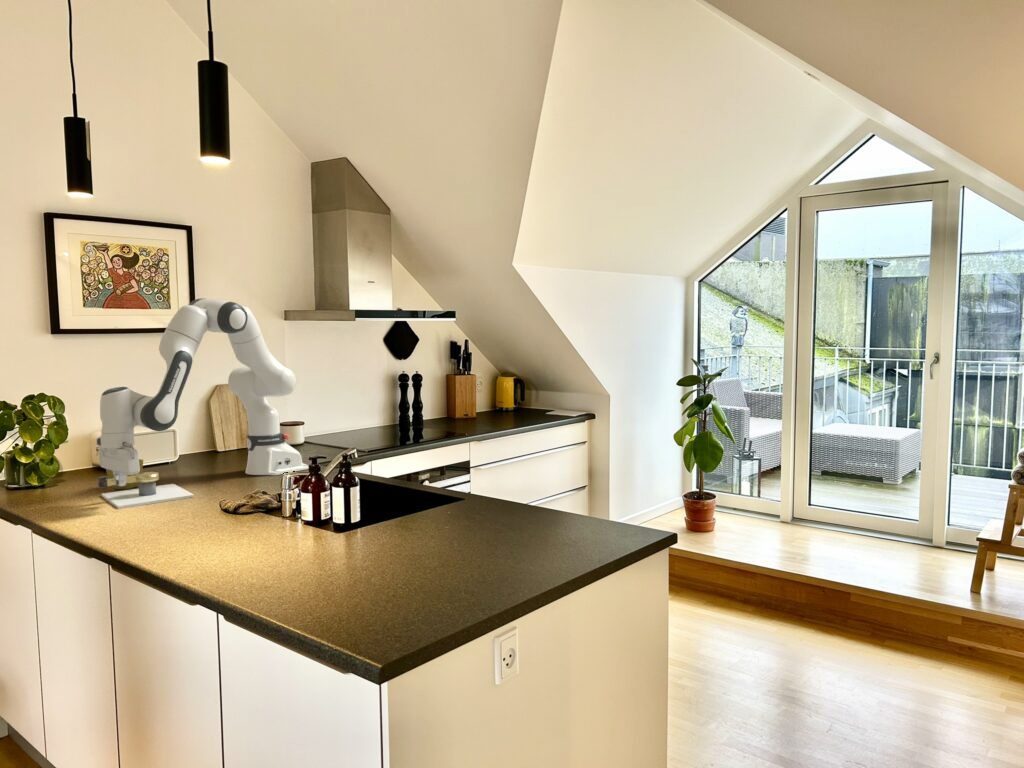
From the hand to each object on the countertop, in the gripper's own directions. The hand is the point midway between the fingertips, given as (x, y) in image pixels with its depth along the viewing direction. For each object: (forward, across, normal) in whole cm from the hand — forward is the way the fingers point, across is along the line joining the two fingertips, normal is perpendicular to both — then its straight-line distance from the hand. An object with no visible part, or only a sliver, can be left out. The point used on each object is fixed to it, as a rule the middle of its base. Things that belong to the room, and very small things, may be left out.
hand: (120, 485), depth 232 cm
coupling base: (+6, +4, -10) cm, 12 cm away
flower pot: (+6, +23, -11) cm, 27 cm away
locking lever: (+1, +5, -5) cm, 7 cm away
